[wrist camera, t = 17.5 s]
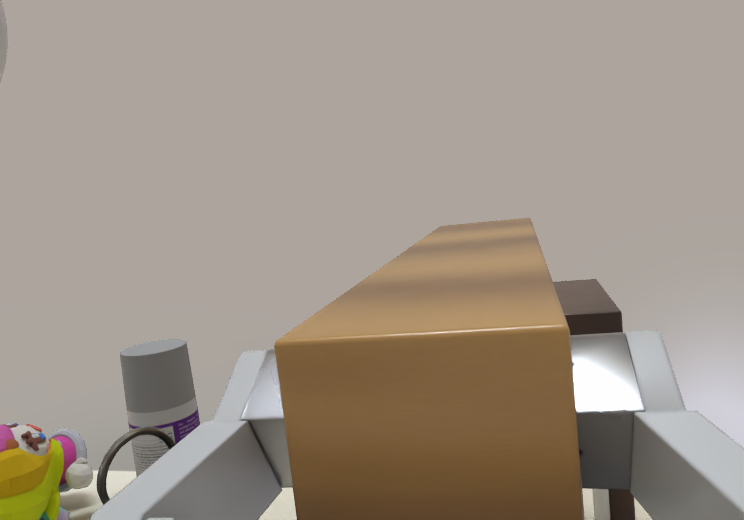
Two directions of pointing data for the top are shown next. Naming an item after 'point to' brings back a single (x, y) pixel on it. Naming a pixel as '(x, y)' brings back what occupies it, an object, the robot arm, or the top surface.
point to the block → (437, 388)
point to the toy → (39, 471)
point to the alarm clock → (115, 448)
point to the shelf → (596, 316)
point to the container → (158, 396)
